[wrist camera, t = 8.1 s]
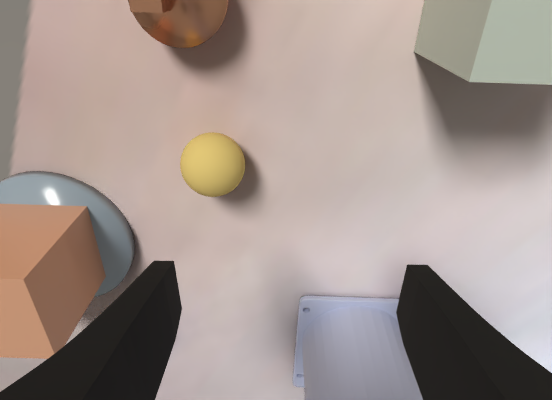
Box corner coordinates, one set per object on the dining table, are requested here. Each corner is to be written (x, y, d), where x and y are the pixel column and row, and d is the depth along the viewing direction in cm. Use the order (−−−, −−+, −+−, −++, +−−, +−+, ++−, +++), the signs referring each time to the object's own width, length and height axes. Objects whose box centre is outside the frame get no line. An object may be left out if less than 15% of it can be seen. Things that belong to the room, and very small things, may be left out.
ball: (247, 179, 21) (242, 209, 18) (190, 177, 21) (176, 207, 18) (247, 124, 19) (241, 148, 17) (185, 122, 19) (169, 146, 17)
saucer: (144, 292, 26) (140, 301, 25) (11, 288, 26) (4, 296, 25) (120, 174, 21) (115, 180, 20) (-41, 168, 21) (-52, 174, 20)
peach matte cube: (106, 276, 24) (56, 359, 19) (23, 274, 24) (-49, 355, 19) (87, 206, 21) (23, 279, 16) (-6, 203, 21) (-99, 275, 16)
